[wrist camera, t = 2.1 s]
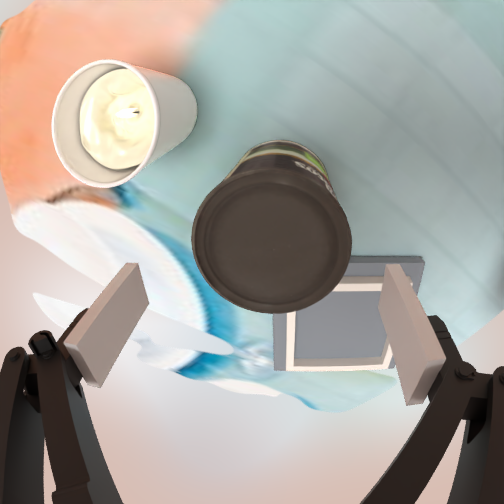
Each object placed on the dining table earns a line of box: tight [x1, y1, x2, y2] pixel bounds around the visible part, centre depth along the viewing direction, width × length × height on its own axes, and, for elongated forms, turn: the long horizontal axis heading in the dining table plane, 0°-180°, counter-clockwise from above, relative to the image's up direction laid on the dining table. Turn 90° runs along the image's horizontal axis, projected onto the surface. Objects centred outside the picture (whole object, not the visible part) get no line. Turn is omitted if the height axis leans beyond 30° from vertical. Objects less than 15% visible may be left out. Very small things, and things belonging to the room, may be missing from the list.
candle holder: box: [52, 59, 197, 188], centre depth 24 cm, size 10×10×12 cm
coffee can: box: [191, 140, 352, 314], centre depth 26 cm, size 10×10×14 cm
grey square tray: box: [273, 256, 425, 371], centre depth 37 cm, size 18×18×3 cm
